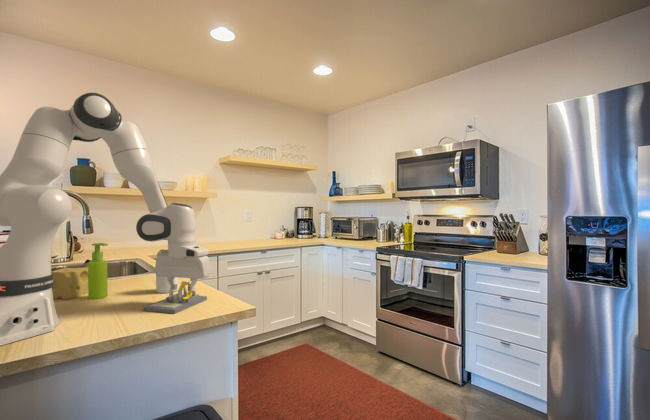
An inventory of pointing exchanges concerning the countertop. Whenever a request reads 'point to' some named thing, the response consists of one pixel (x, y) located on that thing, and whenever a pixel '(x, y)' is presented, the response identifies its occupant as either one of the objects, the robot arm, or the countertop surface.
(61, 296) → the cheese
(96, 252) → the soap dispenser
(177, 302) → the gray pegged board
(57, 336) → the countertop surface
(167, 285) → the pill bottle
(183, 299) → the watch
